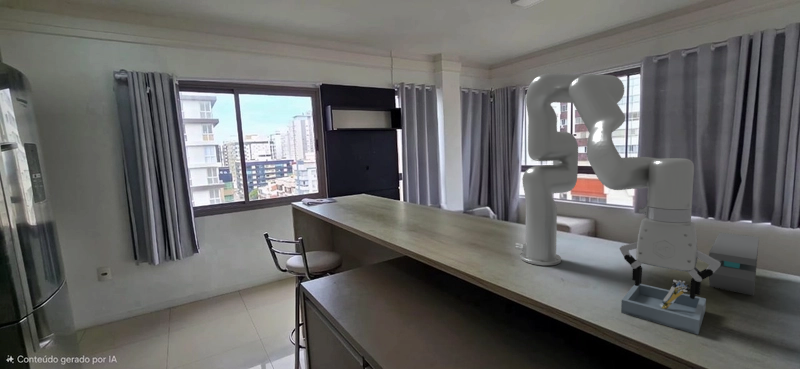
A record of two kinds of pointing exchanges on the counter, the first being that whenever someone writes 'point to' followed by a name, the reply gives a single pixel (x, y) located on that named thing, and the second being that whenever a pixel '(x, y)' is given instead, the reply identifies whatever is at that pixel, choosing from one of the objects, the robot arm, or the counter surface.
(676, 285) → the bracelet
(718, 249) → the gray slotted box
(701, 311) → the tray
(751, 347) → the counter surface
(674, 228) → the robot arm
